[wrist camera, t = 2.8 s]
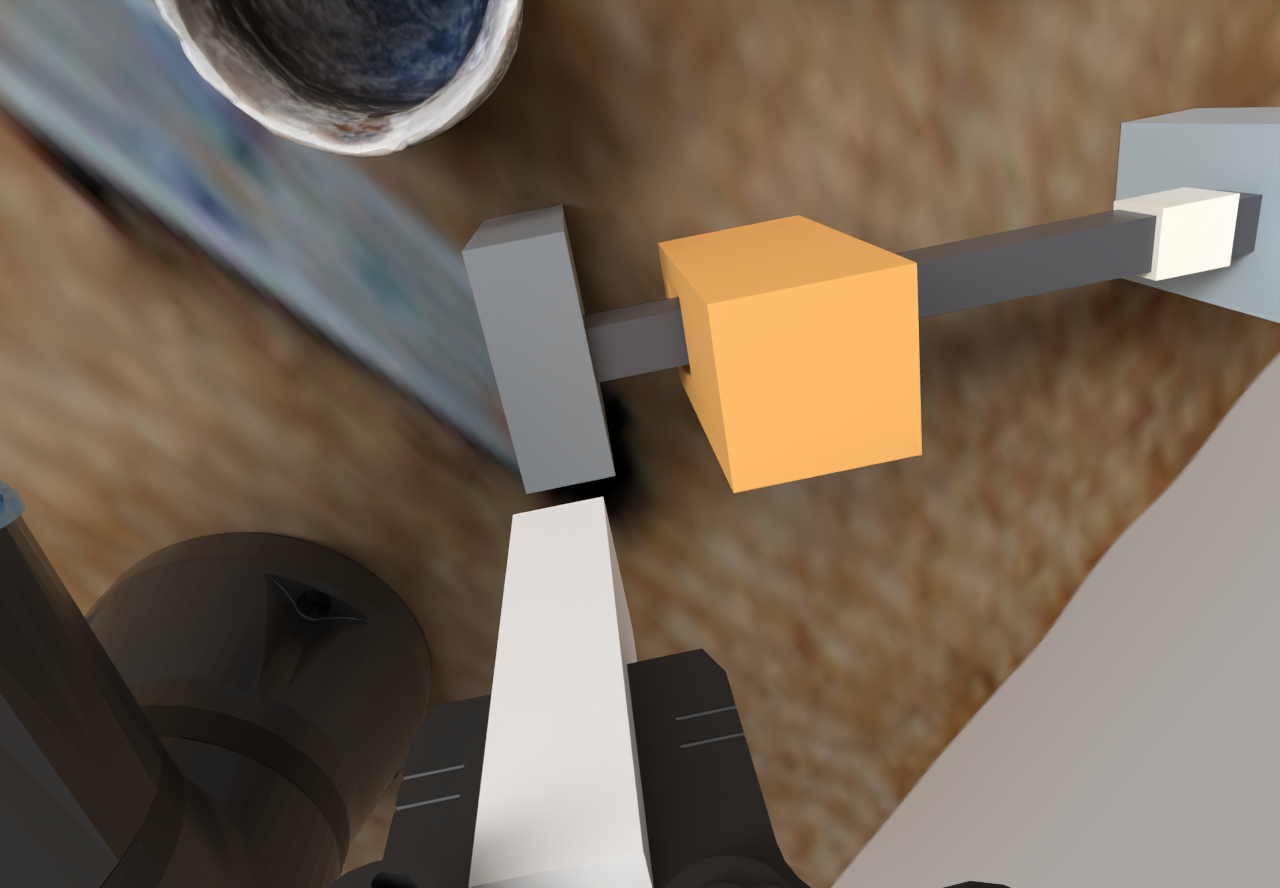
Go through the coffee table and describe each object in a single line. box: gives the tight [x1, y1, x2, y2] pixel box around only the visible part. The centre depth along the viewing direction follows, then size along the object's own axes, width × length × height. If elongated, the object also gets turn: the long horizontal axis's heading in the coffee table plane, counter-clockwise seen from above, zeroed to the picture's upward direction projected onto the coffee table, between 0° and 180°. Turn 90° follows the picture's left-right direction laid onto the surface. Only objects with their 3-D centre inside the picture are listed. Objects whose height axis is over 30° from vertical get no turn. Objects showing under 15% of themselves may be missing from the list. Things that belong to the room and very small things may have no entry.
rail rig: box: [462, 107, 1280, 494], centre depth 27 cm, size 29×8×9 cm, turn 100°
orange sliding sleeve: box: [658, 215, 922, 493], centre depth 23 cm, size 5×5×10 cm
